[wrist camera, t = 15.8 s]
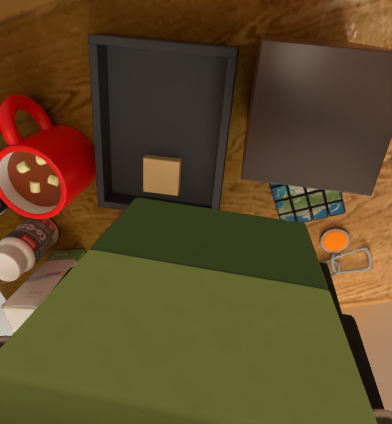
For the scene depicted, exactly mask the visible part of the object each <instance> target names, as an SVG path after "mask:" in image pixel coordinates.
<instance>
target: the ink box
mask: <svg viewBox="0 0 392 424" xmlns="http://www.w3.org/2000/svg"><path fill="white" fill-rule="evenodd" d="M85 254H86V253H85V250H84V249H74V250H60V251H54V253H53V254H52V255H51V256H50V257H49V258H48V259H47V260H46V261H45V262H44V263H43V264H42V265H41V266H40V267H39V268H38V269H37V270H36V271H35V272H34V273H33V274H32V275H31V276H30V277H29V278H28V279H27V280H26V281H25V282H24V283H23V284H22V286H21V287H20V288H19V289H18V290H17V291H16V292H15V293H14V294H13V295H12V296H11V297H10V298H9V299H8V300H7V301H6V302H5V303H4V304H3V305H2V306H1V308H2V310H3V312H4V314H5V316H6V318H7V320H8V322H9V324H10V326H11V328H12V330H13V332H14V333H15V331H16V330H17V329H18V328H19V327H20V326H21V325H22V324H23V323H24V322H25V320H26V319H27V318H28V317H29V316H30V315H31V314H32V313H33V312H34V310H35V309H36V308H37V307H38V306H39V305H40V304H41V303H42V302H43V300H44V299H45V298H46V297H47V296H48V295H49V294H50V293H51V291H52V290H53V289H54V287H55V286H56V285H57V284H58V282H59V281H60V280H61V278H62V277H63V276H64V274H65V273H66V272H67V271H68V270H69V269H70V268H71V267H74V266H75V265H76V264H77V263H78V262H79V260H80V259H81V258H82V257H83V256H84V255H85Z"/></svg>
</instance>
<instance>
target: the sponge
mask: <svg viewBox="0 0 392 424" xmlns="http://www.w3.org/2000/svg"><path fill="white" fill-rule="evenodd" d="M0 424H377V421H376V419H375V416H374V413H373V410H372V407H371V405H370V402H369V399H368V396H367V394H366V391H365V388H364V385H363V383H362V380H361V377H360V374H359V371H358V369H357V366H356V363H355V360H354V358H353V355H352V352H351V349H350V347H349V344H348V341H347V338H346V335H345V333H344V330H343V327H342V324H341V322H340V319H339V316H338V313H337V310H336V308H335V305H334V302H333V299H332V297H331V294H330V292H329V291H328V285H327V282H326V280H325V277H324V274H323V271H322V269H321V266H320V263H319V260H318V258H317V255H316V252H315V249H314V247H313V244H312V241H311V238H310V235H309V233H308V230H307V227H306V224H304V223H300V222H293V221H287V220H280V219H274V218H267V217H261V216H254V215H248V214H242V213H235V212H229V211H222V210H216V209H209V208H203V207H197V206H190V205H184V204H177V203H171V202H164V201H158V200H151V199H145V198H139V197H138V198H135V199H134V200H133V202H132V203H131V204H130V205H129V206H128V207H127V208H126V209H125V210H124V212H123V213H122V214H121V215H120V216H119V217H118V218H117V219H116V220H115V222H114V223H113V224H112V225H111V226H110V227H109V228H108V229H107V230H106V231H105V233H104V234H103V235H102V236H101V237H100V238H99V239H98V240H97V241H96V243H95V244H94V245H93V246H92V248H91V250H89V251H88V252H87V253H86V254H85V255H84V256H83V257H82V258H81V259H80V260H79V262H78V263H77V264H76V265H75V266H74V267H73V268H72V269H71V270H70V272H69V273H68V274H67V275H66V276H65V277H64V278H63V279H62V280H61V282H60V283H59V284H58V285H57V286H56V287H55V288H54V289H53V290H52V292H51V293H50V294H49V295H48V296H47V297H46V298H45V299H44V300H43V302H42V303H41V304H40V305H39V306H38V307H37V308H36V309H35V310H34V312H33V313H32V314H31V315H30V316H29V317H28V318H27V319H26V320H25V322H24V323H23V324H22V325H21V326H20V327H19V328H18V329H17V330H16V331H15V333H14V334H13V335H12V336H11V337H10V338H9V339H8V340H7V341H6V343H5V344H4V345H3V346H2V347H1V348H0Z"/></svg>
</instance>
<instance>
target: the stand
mask: <svg viewBox="0 0 392 424" xmlns="http://www.w3.org/2000/svg"><path fill="white" fill-rule="evenodd" d="M391 137H392V49H387V48H381V47H375V46H369V45H363V44H357V43H352V42H343V41H332V40H321V39H310V38H299V37H288V36H277V35H266V34H260V35H259V42H258V49H257V56H256V63H255V69H254V76H253V83H252V90H251V97H250V104H249V111H248V117H247V126H246V135H245V145H244V155H243V164H242V174H241V179H245V180H252V181H260V182H268V183H275V184H283V185H291V186H298V187H306V188H313V189H321V190H329V191H336V192H344V193H352V194H359V195H367V196H371V195H372V192H373V189H374V186H375V184H376V181H377V178H378V175H379V172H380V169H381V166H382V163H383V160H384V158H385V155H386V152H387V149H388V146H389V143H390V140H391Z"/></svg>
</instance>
